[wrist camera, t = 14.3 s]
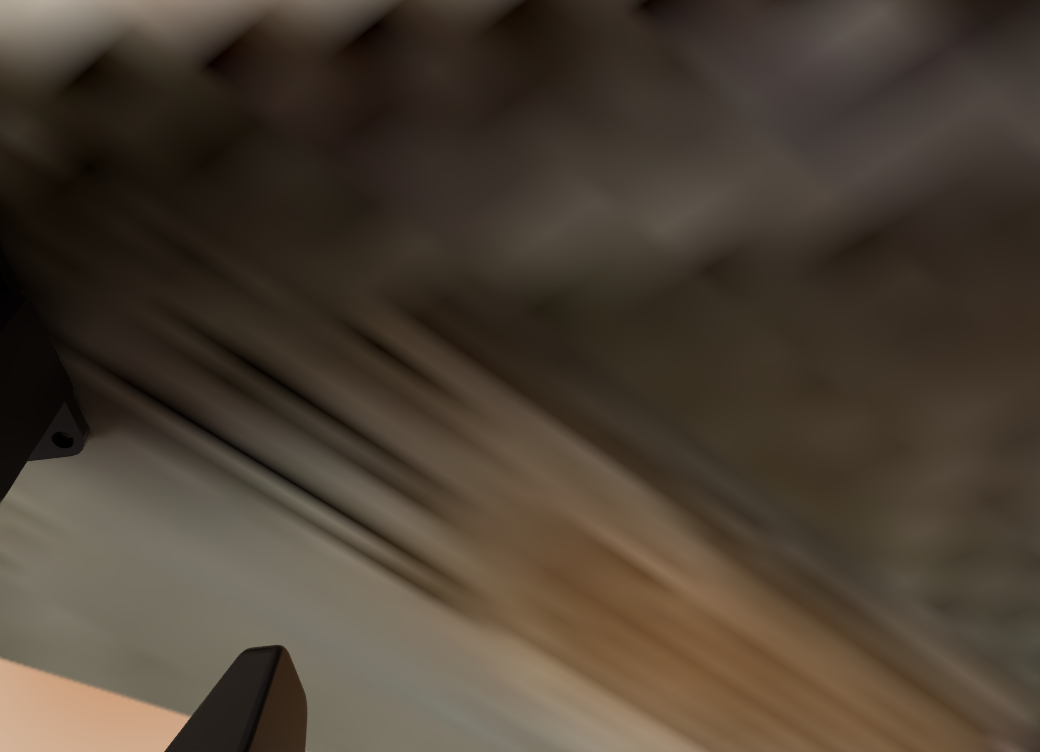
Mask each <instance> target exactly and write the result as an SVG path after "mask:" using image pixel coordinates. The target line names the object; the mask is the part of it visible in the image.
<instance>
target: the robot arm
mask: <svg viewBox="0 0 1040 752" xmlns="http://www.w3.org/2000/svg"><path fill="white" fill-rule="evenodd" d="M72 389H73V387H72V383H71V381H70V379H69V377H68V375H67V373H66V371H65V369H64V367H63V365H62V363H61V361H60V359H59V357H58V355H57V353H56V351H55V349H54V347H53V344H52V342H51V340H50V338H49V336H48V334H47V332H46V330H45V328H44V326H43V324H42V322H41V320H40V318H39V316H38V314H37V312H36V310H35V308H34V306H33V303H32V301H31V300H30V299H29V298H28V297H27V296H26V295H25V294H24V293H23V292H22V290H21V288H20V286H19V284H18V282H17V280H16V278H15V276H14V274H13V272H12V270H11V268H10V266H9V264H8V262H7V260H6V258H5V256H4V254H3V252H2V249H1V247H0V504H1V502H2V501H3V499H4V497H5V496H6V494H7V493H8V491H9V489H10V488H11V486H12V485H13V483H14V481H15V480H16V478H17V477H18V475H19V474H20V472H21V470H22V469H23V467H24V466H25V464H26V462H27V461H34V460H42V459H51V458H59V457H68V456H73V455H76V454H79V453H80V452H81V451H82V450H83V448H84V447H85V445H86V443H87V441H88V440H89V436H90V430H89V427H88V425H87V423H86V421H85V419H84V416H83V414H82V412H81V410H80V408H79V406H78V404H77V402H76V400H75V398H74V396H73V394H72V392H71V391H72ZM60 432H65V433H67V434H69V435H70V436H71V437H72V438H67V437H65V436H63V435H61V433H60ZM306 729H307V700H306V695H305V692H304V689H303V687H302V684H301V682H300V679H299V677H298V674H297V672H296V669H295V667H294V664H293V662H292V659H291V657H290V655H289V653H288V651H287V649H286V648H285V647H283V646H282V645H271V646H262V647H253V648H249V649H246V650H245V651H243V652H242V653H241V654H240V655H239V656H238V657H237V658H236V660H235V661H234V662H233V664H232V665H231V666H230V667H229V669H228V670H227V671H226V673H225V674H224V675H223V676H222V678H221V679H220V680H219V682H218V683H217V684H216V686H215V687H214V688H213V689H212V691H211V692H210V693H209V695H208V696H207V697H206V698H205V700H204V701H203V702H202V704H201V705H200V706H199V708H198V709H197V710H196V711H195V713H194V714H193V715H192V717H191V718H190V719H189V720H188V722H187V723H186V724H185V726H184V727H183V728H182V729H181V731H180V732H179V733H178V735H177V736H176V737H175V739H174V740H173V741H172V742H171V744H170V745H169V746H168V748H167V749H166V750H165V752H305V745H306Z"/></svg>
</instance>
